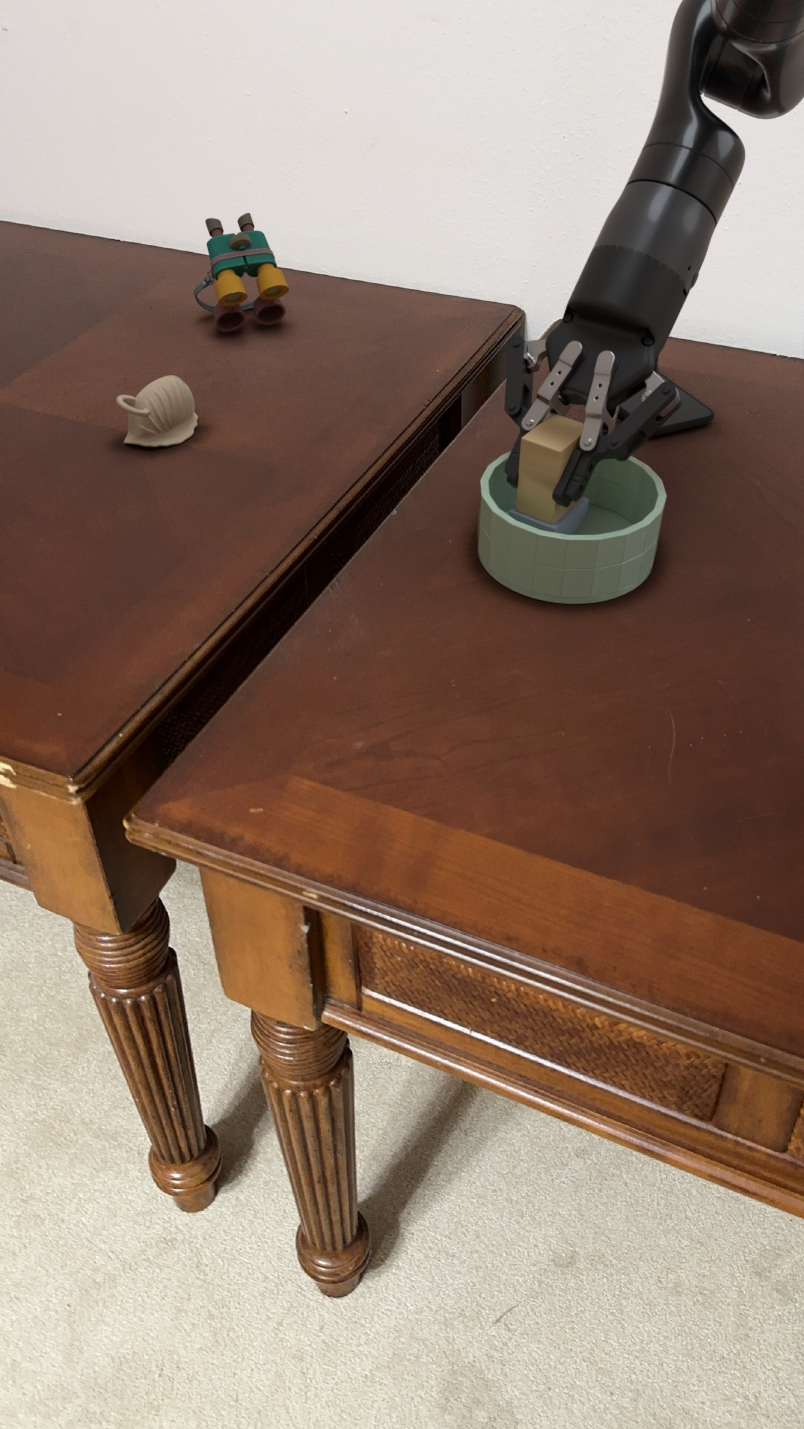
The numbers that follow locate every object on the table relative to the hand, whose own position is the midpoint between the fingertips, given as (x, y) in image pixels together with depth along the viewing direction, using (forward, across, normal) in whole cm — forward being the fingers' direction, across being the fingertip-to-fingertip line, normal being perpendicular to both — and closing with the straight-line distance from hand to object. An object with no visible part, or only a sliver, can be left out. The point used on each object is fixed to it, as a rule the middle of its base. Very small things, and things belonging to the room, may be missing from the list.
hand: (537, 493), depth 79 cm
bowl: (+2, +2, +5) cm, 6 cm away
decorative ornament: (+7, -35, +1) cm, 36 cm away
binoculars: (-8, -44, +16) cm, 48 cm away
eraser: (+1, 0, +4) cm, 4 cm away
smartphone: (-15, -5, +23) cm, 28 cm away
